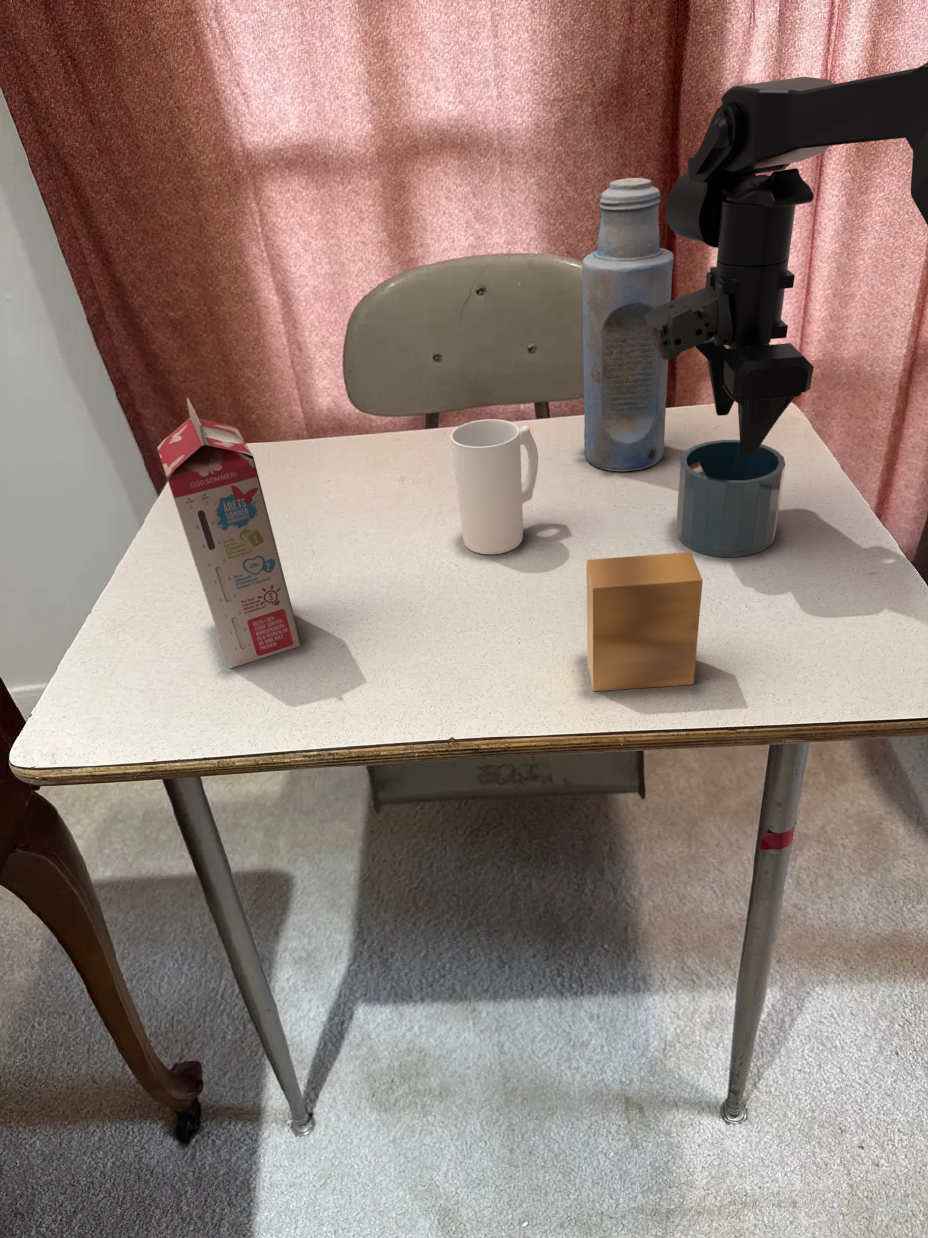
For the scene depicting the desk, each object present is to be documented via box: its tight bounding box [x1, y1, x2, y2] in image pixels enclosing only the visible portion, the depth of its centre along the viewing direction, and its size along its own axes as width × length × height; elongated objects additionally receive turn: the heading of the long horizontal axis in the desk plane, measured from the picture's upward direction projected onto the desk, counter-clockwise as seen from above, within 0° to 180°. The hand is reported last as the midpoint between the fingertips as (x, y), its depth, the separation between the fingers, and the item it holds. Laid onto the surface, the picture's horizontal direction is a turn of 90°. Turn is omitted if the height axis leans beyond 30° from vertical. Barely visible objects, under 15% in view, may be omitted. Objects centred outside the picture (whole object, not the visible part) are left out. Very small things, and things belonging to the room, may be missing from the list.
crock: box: [675, 439, 786, 558], centre depth 83 cm, size 10×10×8 cm
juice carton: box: [156, 397, 303, 669], centre depth 71 cm, size 7×7×22 cm
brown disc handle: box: [689, 461, 706, 476], centre depth 83 cm, size 7×3×1 cm
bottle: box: [581, 177, 675, 472], centre depth 93 cm, size 10×10×30 cm
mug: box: [449, 418, 539, 555], centre depth 85 cm, size 10×7×12 cm, turn 129°
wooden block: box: [586, 551, 703, 692], centre depth 66 cm, size 8×4×10 cm, turn 90°
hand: (734, 433), depth 79 cm, fingers open, 9 cm apart
